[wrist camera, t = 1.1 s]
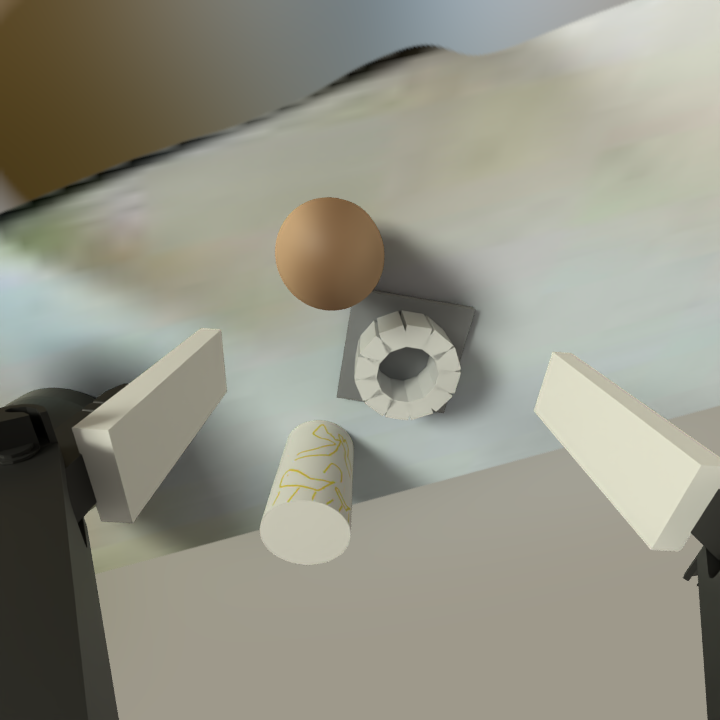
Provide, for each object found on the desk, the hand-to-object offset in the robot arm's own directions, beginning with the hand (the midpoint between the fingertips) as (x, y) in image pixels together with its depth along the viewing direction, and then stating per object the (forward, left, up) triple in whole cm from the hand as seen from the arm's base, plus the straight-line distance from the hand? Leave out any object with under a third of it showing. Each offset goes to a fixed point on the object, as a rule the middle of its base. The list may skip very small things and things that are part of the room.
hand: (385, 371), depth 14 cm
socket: (+5, -7, -21) cm, 23 cm away
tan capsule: (-3, +3, -22) cm, 22 cm away
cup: (-2, -21, -22) cm, 31 cm away
